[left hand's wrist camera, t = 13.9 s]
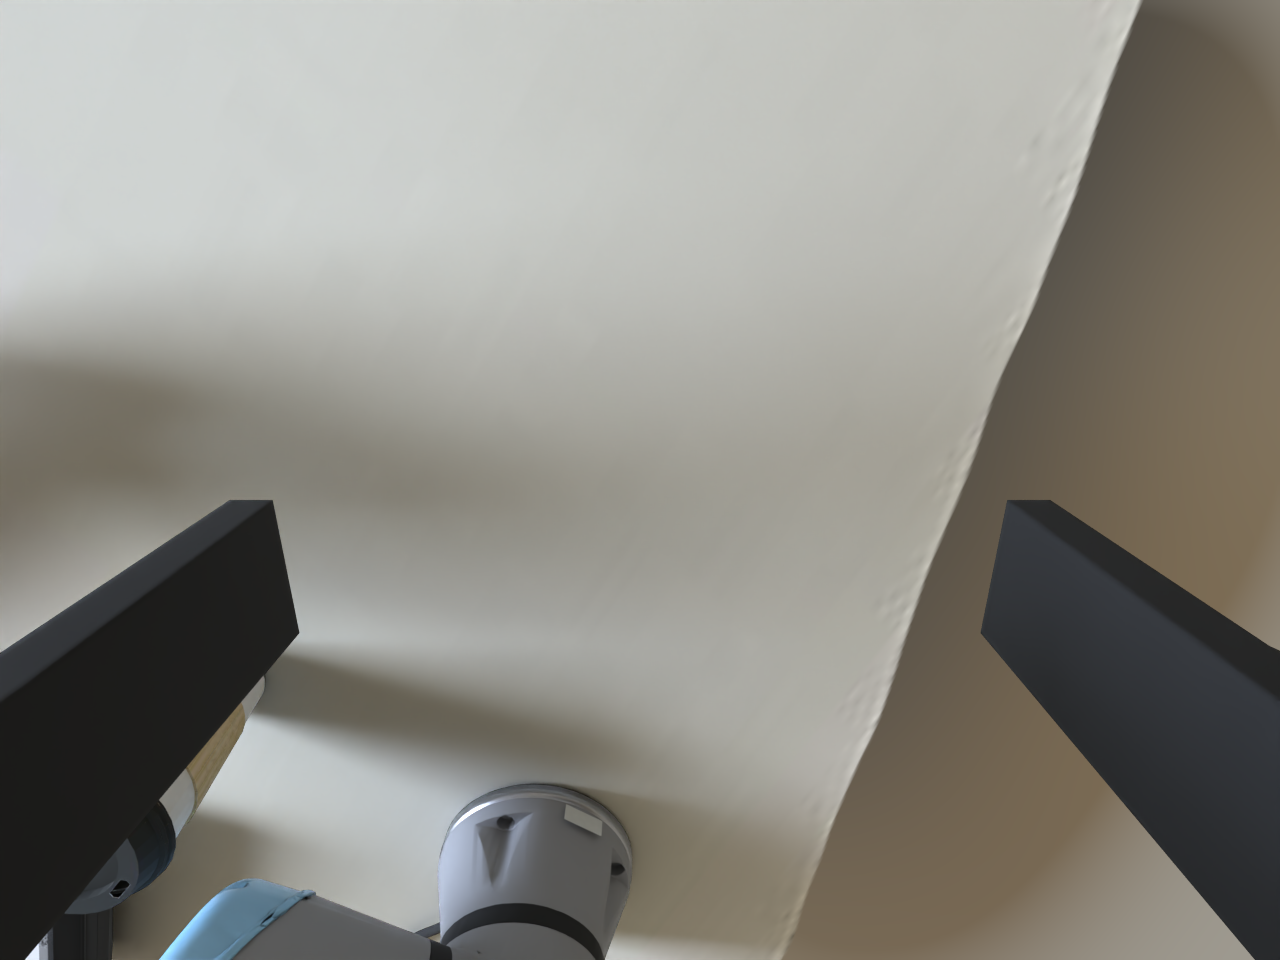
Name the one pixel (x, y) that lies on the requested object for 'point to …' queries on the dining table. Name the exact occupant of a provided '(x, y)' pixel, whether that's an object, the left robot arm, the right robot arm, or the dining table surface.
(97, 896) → the coffee cup
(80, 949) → the electronic device
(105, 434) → the dining table surface
